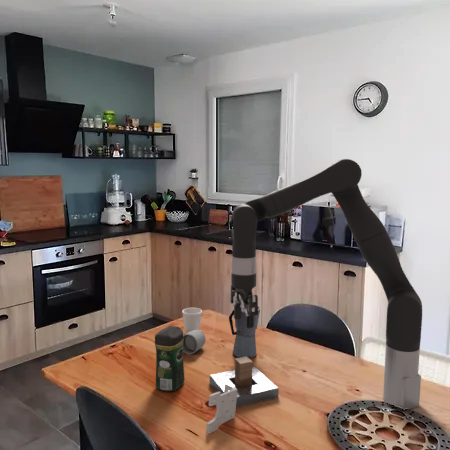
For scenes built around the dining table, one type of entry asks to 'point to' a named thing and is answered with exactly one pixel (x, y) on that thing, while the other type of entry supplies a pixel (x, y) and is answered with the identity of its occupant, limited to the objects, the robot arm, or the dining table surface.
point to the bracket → (222, 407)
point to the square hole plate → (246, 395)
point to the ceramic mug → (193, 341)
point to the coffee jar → (169, 358)
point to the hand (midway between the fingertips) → (243, 323)
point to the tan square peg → (243, 372)
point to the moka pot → (244, 335)
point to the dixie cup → (191, 319)
